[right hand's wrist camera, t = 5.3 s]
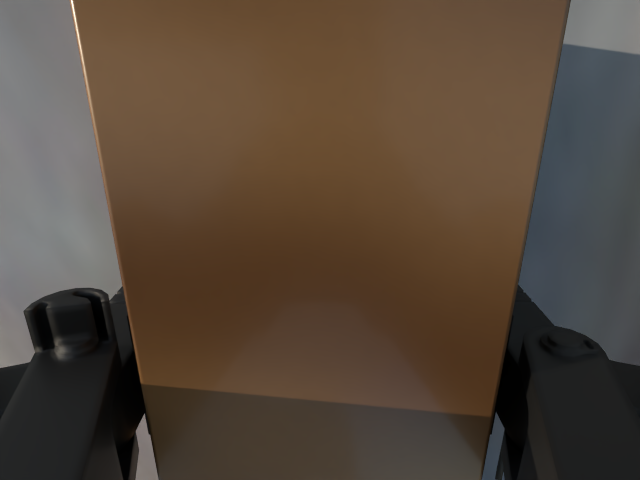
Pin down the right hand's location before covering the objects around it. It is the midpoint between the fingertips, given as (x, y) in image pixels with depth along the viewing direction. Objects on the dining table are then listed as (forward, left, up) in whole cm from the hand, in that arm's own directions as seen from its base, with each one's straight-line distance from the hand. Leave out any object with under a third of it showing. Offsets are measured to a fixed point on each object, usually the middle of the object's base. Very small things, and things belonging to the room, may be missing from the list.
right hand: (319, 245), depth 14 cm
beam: (+8, +15, 0) cm, 17 cm away
